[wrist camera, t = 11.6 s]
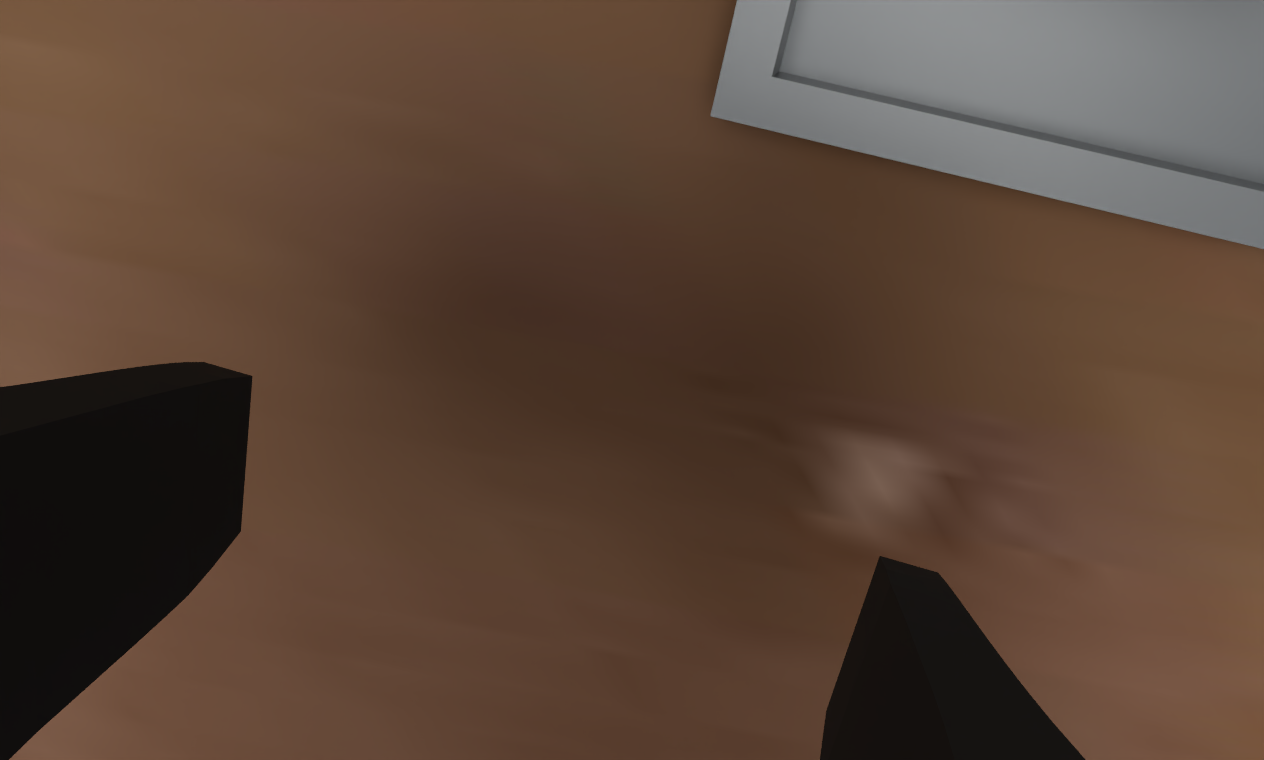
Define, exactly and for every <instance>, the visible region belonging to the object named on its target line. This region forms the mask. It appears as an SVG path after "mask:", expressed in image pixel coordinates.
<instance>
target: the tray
mask: <svg viewBox="0 0 1264 760" xmlns="http://www.w3.org/2000/svg"><path fill="white" fill-rule="evenodd" d="M711 116H712V117H716V118H720V119H724V120H729V121H733V122H737V123H741V124H745V125H749V126H754V127H758V128H762V129H766V130H770V131H774V132H778V133H783V134H787V135H791V136H795V137H799V138H803V139H808V140H812V141H816V142H820V143H824V144H828V145H833V146H837V147H841V148H845V149H849V150H853V151H858V152H862V153H866V154H870V155H874V156H878V157H883V158H887V159H891V160H895V161H899V162H903V163H907V164H912V165H916V166H920V167H924V168H928V169H932V170H937V171H941V172H945V173H949V174H953V175H957V176H962V177H966V178H970V179H974V180H978V181H982V182H987V183H991V184H995V185H999V186H1003V187H1007V188H1011V189H1016V190H1020V191H1024V192H1028V193H1032V194H1036V195H1041V196H1045V197H1049V198H1053V199H1057V200H1061V201H1066V202H1070V203H1074V204H1078V205H1082V206H1086V207H1091V208H1095V209H1099V210H1103V211H1107V212H1111V213H1115V214H1120V215H1124V216H1128V217H1132V218H1136V219H1140V220H1145V221H1149V222H1153V223H1157V224H1161V225H1165V226H1170V227H1174V228H1178V229H1182V230H1186V231H1190V232H1195V233H1199V234H1203V235H1207V236H1211V237H1215V238H1219V239H1224V240H1228V241H1232V242H1236V243H1240V244H1244V245H1249V246H1253V247H1257V248H1261V249H1264V0H737V3H736V7H735V12H734V16H733V20H732V25H731V29H730V33H729V38H728V42H727V46H726V51H725V55H724V59H723V64H722V68H721V72H720V77H719V81H718V85H717V90H716V94H715V98H714V103H713V107H712V111H711Z"/></svg>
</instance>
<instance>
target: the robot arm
mask: <svg viewBox="0 0 1264 760" xmlns="http://www.w3.org/2000/svg"><path fill="white" fill-rule="evenodd" d="M251 387H252V376H250V375H247V374H243V373H240V372H236V371H233V370H229V369H226V368H222V367H219V366H215V365H212V364H208V363H205V362H183V363H169V364H159V365H150V366H142V367H134V368H127V369H120V370H113V371H106V372H100V373H93V374H86V375H80V376H73V377H67V378H60V379H54V380H47V381H40V382H34V383H27V384H21V385H14V386H6V387H0V760H9V759H10V758H11V757H12V756H13V755H14V754H15V753H16V752H17V751H18V750H19V749H20V748H21V747H22V746H23V745H24V744H25V743H26V742H27V741H28V740H29V739H30V738H31V737H33V736H34V735H35V734H36V733H37V732H38V731H39V730H40V729H41V728H42V727H43V726H44V725H46V724H47V723H48V722H49V721H50V720H51V719H52V718H53V717H54V716H56V715H57V714H58V713H59V712H60V711H61V710H62V709H63V708H65V707H66V706H67V705H68V704H69V703H70V702H71V701H72V700H73V699H75V698H76V697H77V696H78V695H79V694H80V693H81V692H82V691H84V690H85V689H86V688H87V687H88V686H89V685H90V684H91V683H92V682H94V681H95V680H96V679H97V678H98V677H99V676H100V675H101V674H102V673H104V672H105V671H106V670H107V669H108V668H109V667H110V666H111V665H113V664H114V663H115V662H116V661H117V660H118V659H119V658H120V657H122V656H123V655H124V654H125V653H126V652H127V651H128V650H129V649H130V648H132V647H133V646H134V645H135V644H136V643H137V642H138V641H139V640H140V639H142V638H143V637H144V636H145V635H146V634H147V633H148V632H149V631H150V630H151V629H152V628H154V627H155V626H156V625H157V624H158V623H159V622H160V621H161V620H162V619H163V618H164V617H166V616H167V615H168V614H169V613H170V612H171V611H172V610H173V609H174V608H175V607H176V606H177V605H178V604H179V603H181V602H182V601H183V600H184V599H185V598H186V597H187V596H188V595H189V594H190V593H191V591H192V590H193V589H194V588H195V587H196V586H197V584H198V583H199V582H200V581H201V580H202V579H203V578H204V576H205V575H206V574H207V573H208V572H209V571H210V569H211V568H212V567H213V566H214V565H215V563H216V562H217V561H218V559H219V558H220V557H221V556H222V554H223V553H224V552H225V551H226V549H227V548H228V547H229V546H230V544H231V543H232V542H233V540H234V539H235V538H236V537H237V535H238V534H239V533H240V532H241V521H242V508H243V495H244V481H245V468H246V454H247V441H248V428H249V414H250V401H251ZM820 760H1085V759H1084V758H1083V756H1082V755H1081V754H1080V753H1079V752H1078V751H1077V750H1076V748H1075V747H1074V746H1073V745H1072V744H1071V743H1070V742H1069V740H1068V739H1067V738H1066V737H1065V736H1064V735H1063V734H1062V732H1061V731H1060V730H1059V729H1058V728H1057V727H1056V726H1055V724H1054V723H1053V722H1052V721H1051V720H1050V719H1049V717H1048V716H1047V715H1046V714H1045V712H1044V711H1043V710H1042V709H1041V708H1040V706H1039V705H1038V704H1037V703H1036V701H1035V700H1034V699H1033V698H1032V697H1031V695H1030V694H1029V693H1028V692H1027V690H1026V689H1025V688H1024V686H1023V685H1022V684H1021V683H1020V681H1019V680H1018V679H1017V678H1016V676H1015V675H1014V674H1013V672H1012V671H1011V670H1010V668H1009V667H1008V666H1007V664H1006V663H1005V662H1004V661H1003V659H1002V658H1001V657H1000V655H999V654H998V652H997V651H996V650H995V648H994V647H993V646H992V644H991V643H990V642H989V640H988V639H987V638H986V636H985V635H984V633H983V632H982V631H981V629H980V628H979V627H978V625H977V624H976V622H975V621H974V620H973V618H972V617H971V616H970V614H969V613H968V611H967V610H966V609H965V607H964V606H963V605H962V603H961V602H960V600H959V599H958V598H957V596H956V595H955V594H954V592H953V591H952V590H951V588H950V587H949V586H948V584H947V583H946V582H945V580H944V579H943V578H942V577H941V576H940V575H939V573H937V572H934V571H930V570H927V569H923V568H920V567H916V566H913V565H909V564H906V563H903V562H899V561H896V560H892V559H889V558H885V557H882V556H880V557H879V560H878V563H877V566H876V569H875V572H874V575H873V577H872V580H871V583H870V586H869V589H868V592H867V595H866V598H865V601H864V603H863V606H862V609H861V612H860V615H859V618H858V621H857V624H856V627H855V630H854V632H853V635H852V638H851V641H850V644H849V647H848V650H847V653H846V656H845V658H844V661H843V664H842V667H841V670H840V673H839V676H838V679H837V682H836V684H835V687H834V690H833V693H832V696H831V699H830V702H829V705H828V708H827V711H826V718H825V725H824V733H823V741H822V748H821V756H820Z"/></svg>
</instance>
